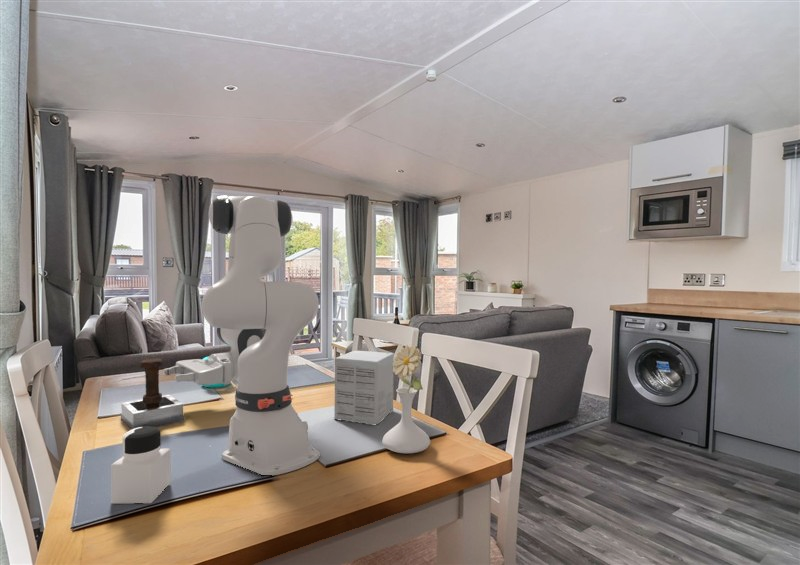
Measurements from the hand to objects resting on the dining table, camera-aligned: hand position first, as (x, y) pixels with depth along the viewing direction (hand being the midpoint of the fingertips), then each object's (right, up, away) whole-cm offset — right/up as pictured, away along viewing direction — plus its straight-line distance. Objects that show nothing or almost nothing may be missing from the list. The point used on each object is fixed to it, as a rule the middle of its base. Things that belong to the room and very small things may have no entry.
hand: (169, 375), depth 122 cm
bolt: (-3, -10, -3) cm, 11 cm away
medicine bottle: (+17, -13, -42) cm, 47 cm away
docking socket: (-3, -12, -3) cm, 12 cm away
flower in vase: (+67, -13, -20) cm, 71 cm away
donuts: (-1, -11, +33) cm, 35 cm away
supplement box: (+55, -12, +3) cm, 56 cm away
